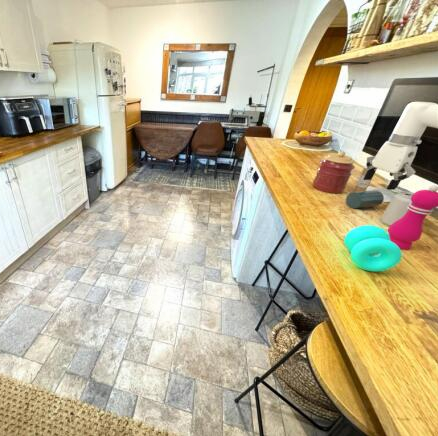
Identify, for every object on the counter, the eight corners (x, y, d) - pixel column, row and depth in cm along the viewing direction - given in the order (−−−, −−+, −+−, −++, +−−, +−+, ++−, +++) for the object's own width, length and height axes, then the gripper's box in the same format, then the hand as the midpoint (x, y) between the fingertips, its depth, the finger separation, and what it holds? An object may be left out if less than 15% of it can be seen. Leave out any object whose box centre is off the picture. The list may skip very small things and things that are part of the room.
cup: (343, 203, 101) (364, 201, 102) (356, 210, 95) (379, 208, 96) (349, 189, 98) (371, 187, 99) (363, 196, 92) (386, 194, 93)
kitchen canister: (340, 185, 118) (356, 149, 109) (346, 195, 108) (364, 157, 99) (310, 181, 122) (323, 146, 113) (313, 190, 112) (328, 153, 103)
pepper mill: (383, 245, 75) (420, 187, 65) (379, 235, 80) (414, 179, 70) (414, 253, 72) (459, 193, 62) (408, 242, 77) (449, 184, 67)
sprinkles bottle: (365, 192, 111) (380, 164, 104) (362, 195, 108) (377, 166, 102) (354, 189, 114) (367, 162, 107) (350, 191, 112) (364, 163, 105)
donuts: (377, 256, 71) (395, 227, 66) (391, 278, 63) (413, 248, 58) (337, 247, 74) (351, 220, 69) (345, 267, 66) (362, 238, 61)
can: (403, 222, 88) (422, 192, 82) (409, 232, 82) (431, 201, 76) (377, 217, 91) (394, 188, 85) (381, 226, 85) (400, 195, 79)
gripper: (440, 146, 79) (409, 193, 88) (388, 134, 93) (366, 176, 102) (420, 146, 78) (391, 194, 87) (371, 134, 92) (351, 176, 101)
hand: (378, 184), depth 94 cm, fingers open, 9 cm apart
